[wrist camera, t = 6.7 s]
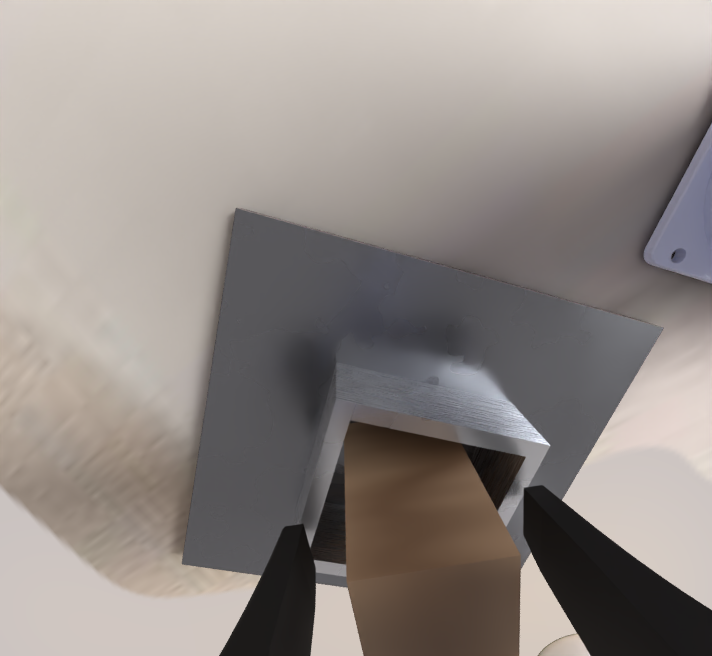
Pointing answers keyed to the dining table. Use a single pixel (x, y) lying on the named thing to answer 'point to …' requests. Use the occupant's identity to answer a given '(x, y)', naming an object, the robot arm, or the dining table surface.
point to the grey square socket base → (386, 385)
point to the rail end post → (426, 549)
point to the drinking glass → (566, 647)
